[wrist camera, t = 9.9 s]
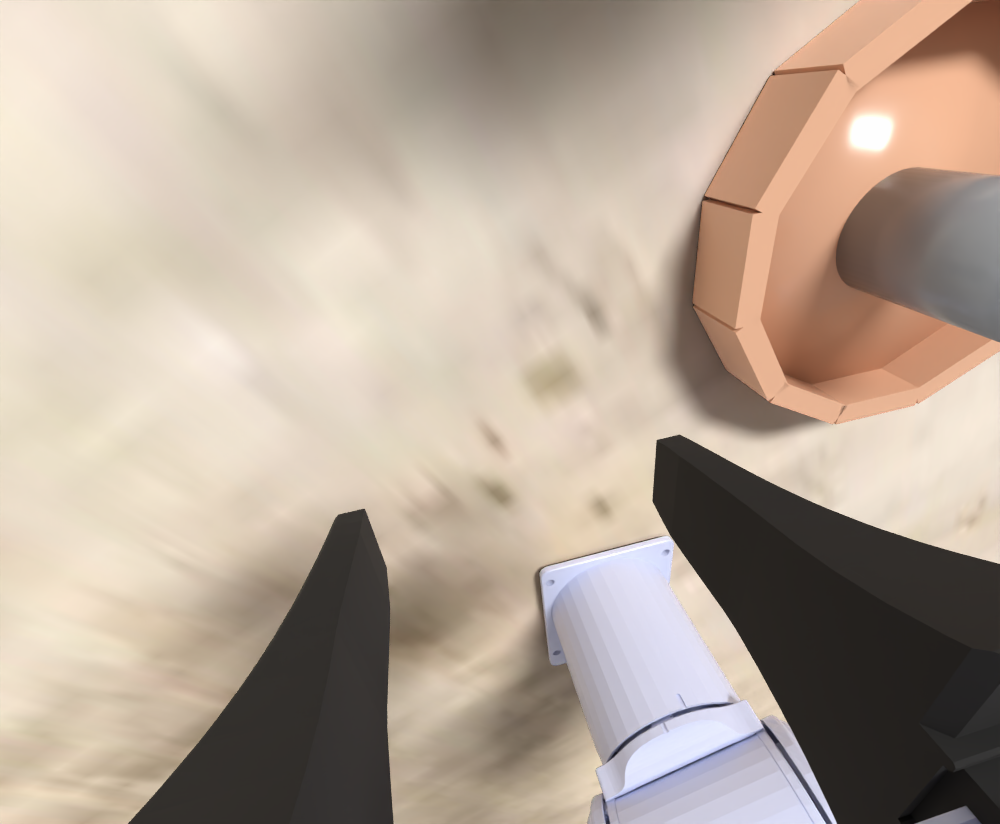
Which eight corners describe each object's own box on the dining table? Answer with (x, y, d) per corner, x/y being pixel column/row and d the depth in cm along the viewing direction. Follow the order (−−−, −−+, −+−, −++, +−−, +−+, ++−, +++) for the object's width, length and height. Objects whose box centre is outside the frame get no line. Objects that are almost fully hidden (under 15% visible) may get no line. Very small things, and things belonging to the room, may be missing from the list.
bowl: (960, 353, 26) (1023, 379, 23) (680, 417, 24) (715, 453, 22) (1139, -54, 17) (1268, -82, 15) (722, -1, 15) (789, -22, 13)
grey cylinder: (928, 271, 21) (1096, 320, 16) (828, 304, 21) (967, 363, 16) (959, 151, 19) (1171, 165, 14) (845, 187, 19) (1018, 214, 14)
